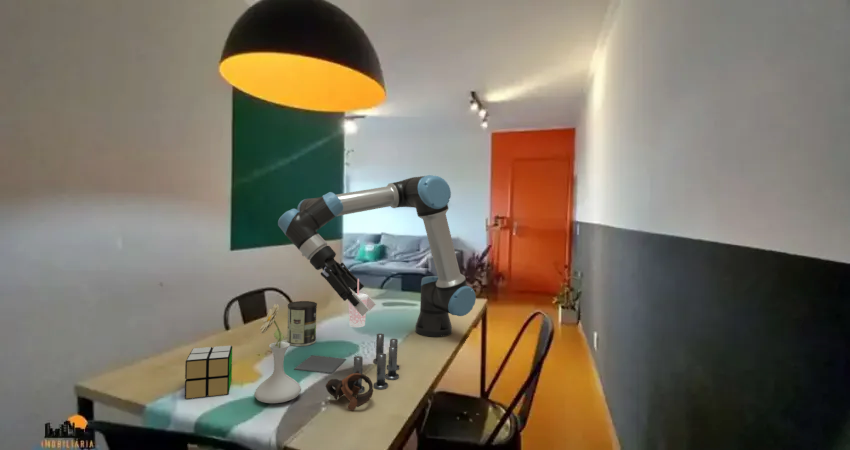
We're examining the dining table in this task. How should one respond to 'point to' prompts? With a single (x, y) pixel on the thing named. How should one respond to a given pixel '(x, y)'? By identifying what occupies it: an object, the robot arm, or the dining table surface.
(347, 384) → the pottery mug
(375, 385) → the posts
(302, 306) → the coffee can
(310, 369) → the mat
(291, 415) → the dining table surface
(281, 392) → the flower in vase
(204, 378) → the puzzle cube
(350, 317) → the beverage cup
